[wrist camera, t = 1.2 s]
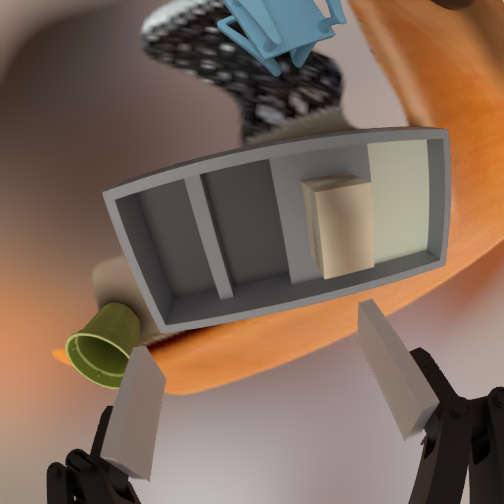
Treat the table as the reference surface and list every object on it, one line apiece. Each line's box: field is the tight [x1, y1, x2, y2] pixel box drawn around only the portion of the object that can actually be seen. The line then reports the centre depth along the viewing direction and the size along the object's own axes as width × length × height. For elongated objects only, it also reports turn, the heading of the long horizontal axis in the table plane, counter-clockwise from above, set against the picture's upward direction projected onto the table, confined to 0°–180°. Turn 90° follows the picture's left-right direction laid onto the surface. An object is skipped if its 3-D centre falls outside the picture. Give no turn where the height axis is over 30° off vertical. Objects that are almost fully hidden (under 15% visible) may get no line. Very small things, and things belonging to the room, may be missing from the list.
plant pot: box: [65, 302, 141, 389], centre depth 30 cm, size 9×9×9 cm
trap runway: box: [103, 126, 451, 334], centre depth 27 cm, size 34×16×6 cm, turn 102°
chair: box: [217, 0, 346, 77], centre depth 16 cm, size 8×8×12 cm
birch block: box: [300, 173, 374, 279], centre depth 25 cm, size 5×8×5 cm, turn 12°
